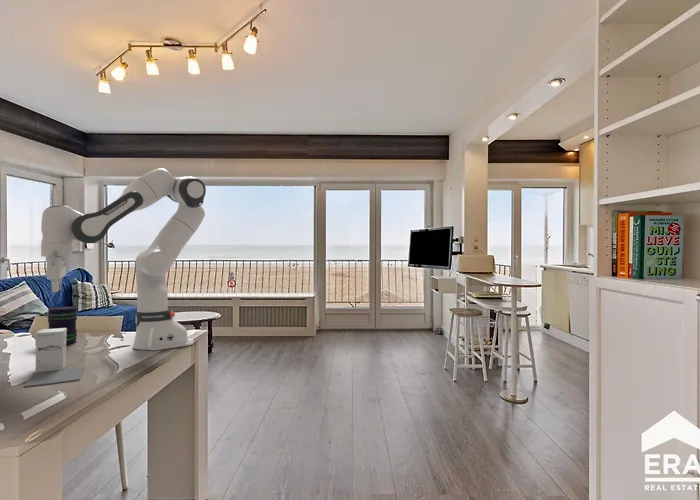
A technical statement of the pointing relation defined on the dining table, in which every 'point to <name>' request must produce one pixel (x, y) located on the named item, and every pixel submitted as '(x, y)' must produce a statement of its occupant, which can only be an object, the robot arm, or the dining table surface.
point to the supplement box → (50, 349)
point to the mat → (54, 377)
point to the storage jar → (64, 321)
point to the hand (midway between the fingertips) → (56, 291)
